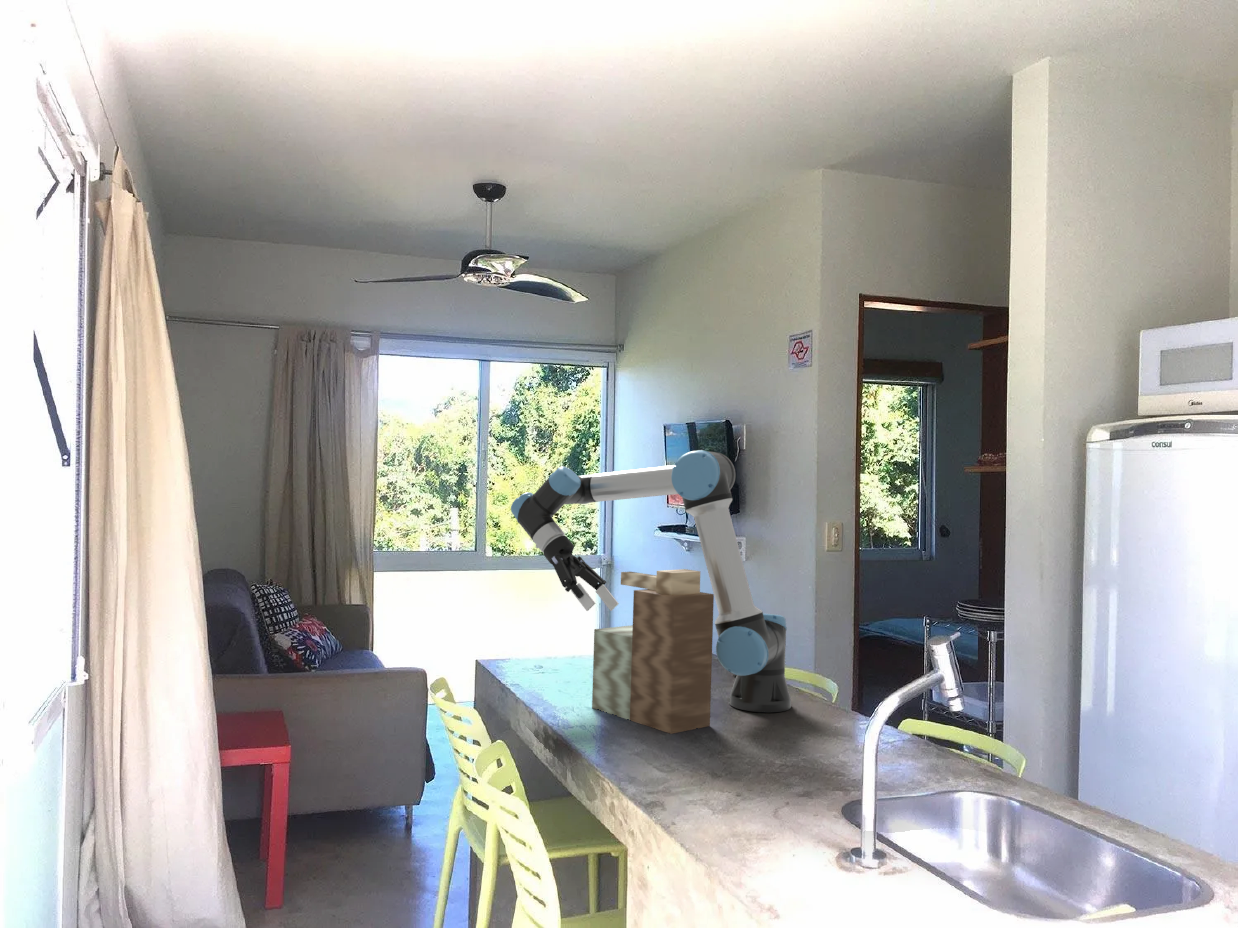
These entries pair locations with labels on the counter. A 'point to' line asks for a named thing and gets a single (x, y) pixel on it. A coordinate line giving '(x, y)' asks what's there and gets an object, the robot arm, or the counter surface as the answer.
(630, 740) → the counter surface
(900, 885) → the counter surface
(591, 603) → the robot arm
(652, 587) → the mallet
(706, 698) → the step stand
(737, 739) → the counter surface
